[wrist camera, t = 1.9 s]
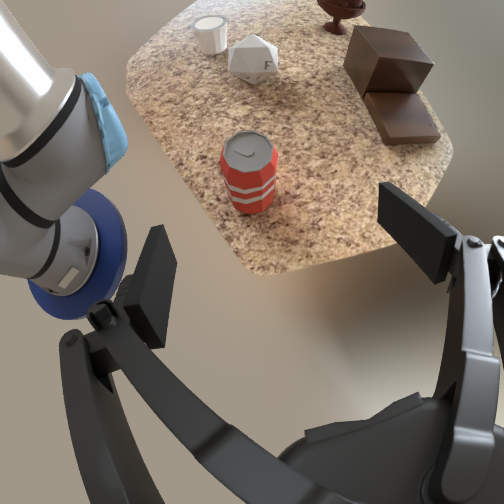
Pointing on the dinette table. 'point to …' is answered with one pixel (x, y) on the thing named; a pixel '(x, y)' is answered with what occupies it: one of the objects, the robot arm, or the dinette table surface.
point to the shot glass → (210, 34)
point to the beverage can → (249, 170)
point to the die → (252, 59)
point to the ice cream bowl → (341, 12)
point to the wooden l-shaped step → (391, 83)
